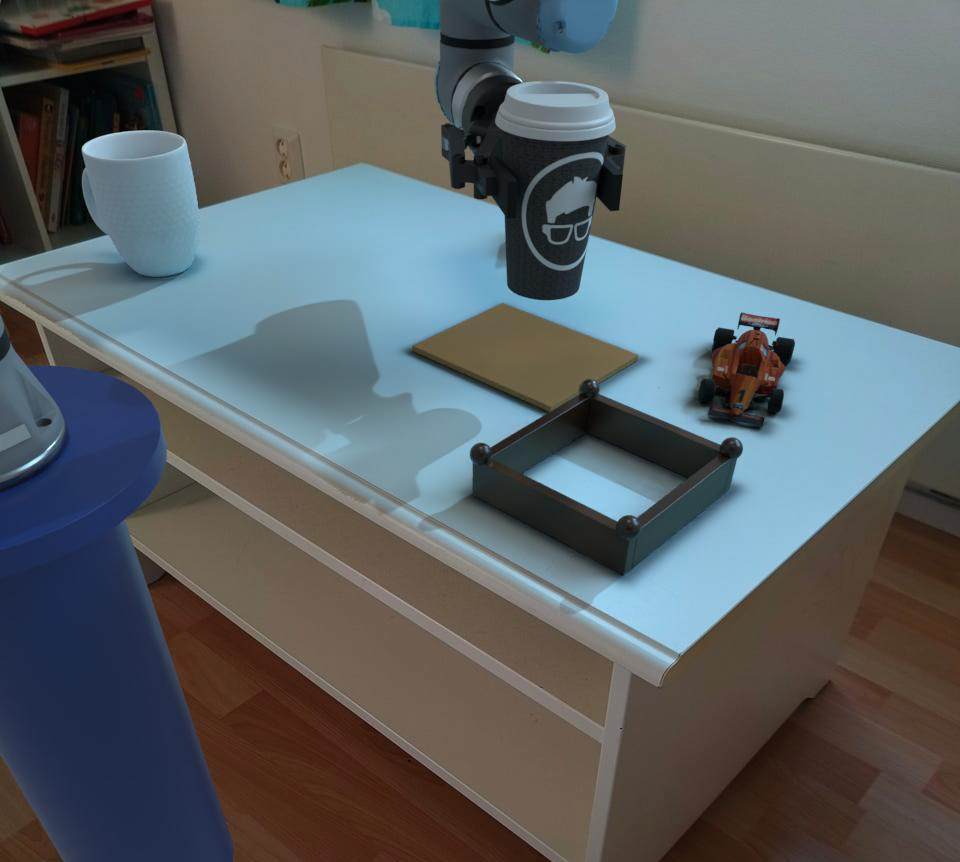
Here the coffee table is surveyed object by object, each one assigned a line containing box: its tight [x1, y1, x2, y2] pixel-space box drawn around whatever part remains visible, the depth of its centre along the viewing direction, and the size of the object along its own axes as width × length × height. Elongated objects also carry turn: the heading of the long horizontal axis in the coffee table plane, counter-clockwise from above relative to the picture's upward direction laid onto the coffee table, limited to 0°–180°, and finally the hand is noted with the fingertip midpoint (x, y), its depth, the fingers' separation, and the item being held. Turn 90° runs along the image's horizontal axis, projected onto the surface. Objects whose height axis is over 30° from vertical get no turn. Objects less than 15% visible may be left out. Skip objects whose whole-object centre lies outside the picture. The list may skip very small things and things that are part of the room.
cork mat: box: [411, 302, 639, 413], centre depth 89 cm, size 18×14×1 cm
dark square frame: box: [469, 379, 744, 576], centre depth 71 cm, size 16×16×5 cm
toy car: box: [697, 312, 796, 428], centre depth 84 cm, size 8×16×4 cm, turn 162°
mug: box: [81, 129, 200, 278], centre depth 101 cm, size 15×11×13 cm
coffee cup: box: [495, 80, 617, 301], centre depth 74 cm, size 10×10×15 cm
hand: (564, 196), depth 70 cm, fingers closed on coffee cup, 8 cm apart
